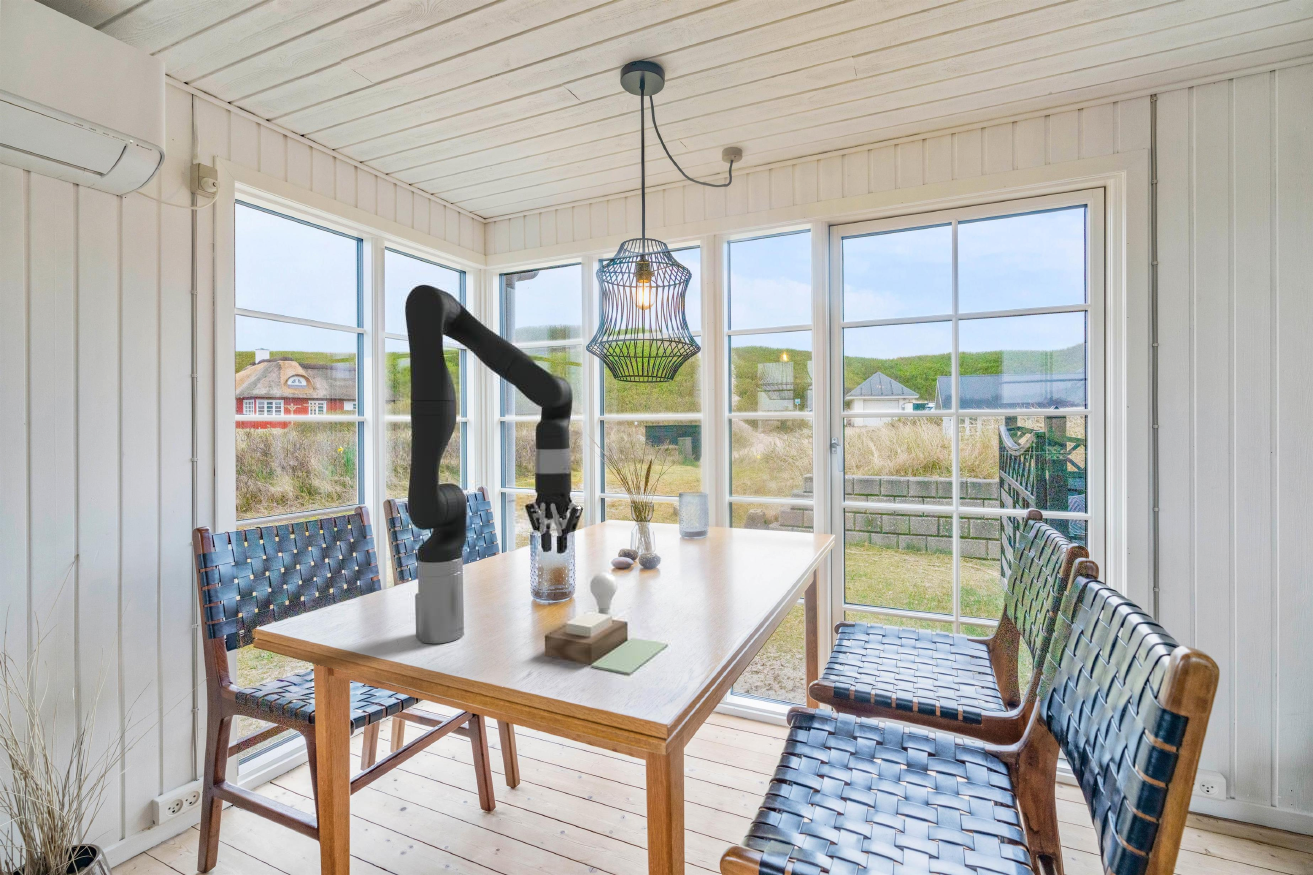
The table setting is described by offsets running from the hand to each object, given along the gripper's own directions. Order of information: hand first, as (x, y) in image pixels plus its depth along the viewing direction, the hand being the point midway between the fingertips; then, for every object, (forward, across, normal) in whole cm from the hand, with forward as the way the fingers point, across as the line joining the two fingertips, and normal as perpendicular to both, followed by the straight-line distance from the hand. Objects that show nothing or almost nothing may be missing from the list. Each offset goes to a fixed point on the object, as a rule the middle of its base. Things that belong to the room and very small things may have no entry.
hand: (554, 551), depth 127 cm
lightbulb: (+19, +2, +17) cm, 26 cm away
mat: (+19, +18, 0) cm, 26 cm away
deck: (+19, +8, 0) cm, 21 cm away
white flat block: (+15, +8, 0) cm, 17 cm away
